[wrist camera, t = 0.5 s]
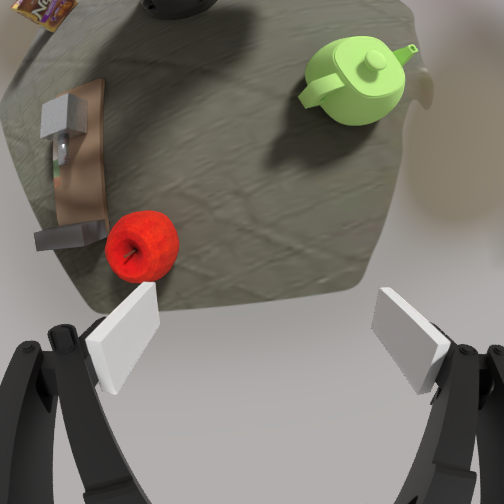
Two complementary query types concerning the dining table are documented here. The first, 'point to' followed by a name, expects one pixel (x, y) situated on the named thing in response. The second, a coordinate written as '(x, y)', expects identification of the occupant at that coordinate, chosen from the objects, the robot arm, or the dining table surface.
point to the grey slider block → (64, 122)
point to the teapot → (356, 79)
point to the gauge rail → (80, 181)
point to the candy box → (44, 11)
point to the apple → (142, 246)
